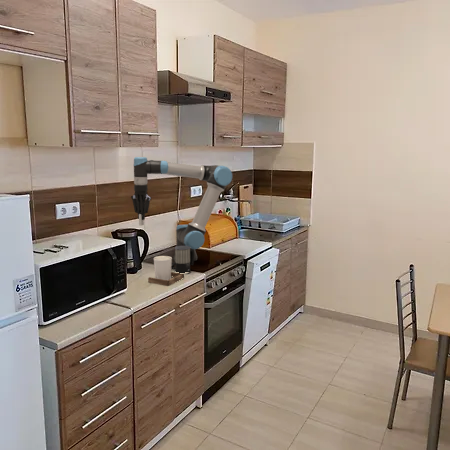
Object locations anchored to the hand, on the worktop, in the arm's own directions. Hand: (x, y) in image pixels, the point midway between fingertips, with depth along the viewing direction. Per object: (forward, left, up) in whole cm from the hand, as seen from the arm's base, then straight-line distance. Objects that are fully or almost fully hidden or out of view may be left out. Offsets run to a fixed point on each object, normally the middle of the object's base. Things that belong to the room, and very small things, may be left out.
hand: (141, 225), depth 250 cm
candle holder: (+12, +23, -27) cm, 37 cm away
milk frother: (-8, +20, -27) cm, 35 cm away
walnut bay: (+12, +25, -26) cm, 38 cm away
